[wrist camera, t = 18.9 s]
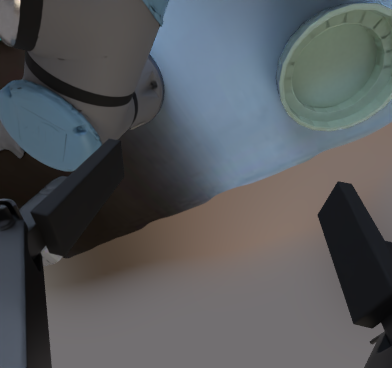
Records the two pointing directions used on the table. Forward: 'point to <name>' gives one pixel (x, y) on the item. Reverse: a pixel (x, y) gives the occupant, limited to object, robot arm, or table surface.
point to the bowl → (338, 67)
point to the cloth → (9, 142)
